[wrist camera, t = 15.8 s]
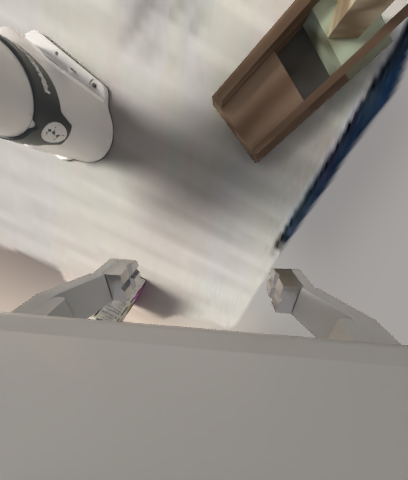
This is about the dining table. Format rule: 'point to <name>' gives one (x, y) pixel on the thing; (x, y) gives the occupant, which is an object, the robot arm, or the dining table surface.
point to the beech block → (355, 17)
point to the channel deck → (294, 73)
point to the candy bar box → (119, 306)
